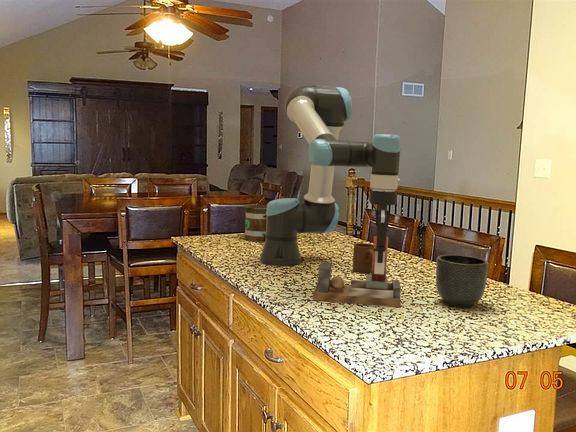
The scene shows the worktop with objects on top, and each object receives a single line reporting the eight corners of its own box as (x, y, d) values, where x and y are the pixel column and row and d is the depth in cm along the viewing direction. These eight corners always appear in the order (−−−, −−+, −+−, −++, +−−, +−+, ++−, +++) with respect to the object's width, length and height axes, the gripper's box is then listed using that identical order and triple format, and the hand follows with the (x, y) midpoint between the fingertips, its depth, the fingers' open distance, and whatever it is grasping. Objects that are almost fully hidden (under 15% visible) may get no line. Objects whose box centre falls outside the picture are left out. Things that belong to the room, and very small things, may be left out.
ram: (365, 294, 151) (368, 238, 149) (365, 287, 158) (368, 234, 156) (387, 296, 150) (390, 239, 148) (386, 289, 157) (389, 235, 155)
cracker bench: (313, 300, 151) (314, 268, 150) (317, 289, 163) (318, 260, 162) (399, 307, 148) (402, 275, 146) (397, 295, 159) (399, 265, 158)
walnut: (327, 289, 156) (327, 275, 155) (336, 287, 159) (337, 273, 158) (337, 292, 153) (337, 278, 152) (346, 290, 156) (347, 276, 155)
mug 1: (238, 237, 248) (239, 205, 246) (264, 236, 255) (265, 204, 253) (257, 245, 231) (258, 210, 229) (284, 243, 238) (286, 209, 236)
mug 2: (382, 276, 182) (384, 249, 181) (361, 277, 181) (362, 249, 179) (369, 268, 194) (370, 243, 193) (349, 269, 192) (350, 243, 191)
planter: (478, 314, 144) (482, 267, 142) (427, 304, 151) (430, 259, 149) (489, 302, 156) (493, 258, 154) (441, 294, 163) (444, 252, 161)
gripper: (399, 193, 141) (393, 279, 144) (395, 188, 158) (391, 266, 161) (370, 191, 142) (365, 277, 145) (370, 187, 159) (365, 264, 162)
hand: (378, 271), depth 153 cm, fingers closed on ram, 4 cm apart
